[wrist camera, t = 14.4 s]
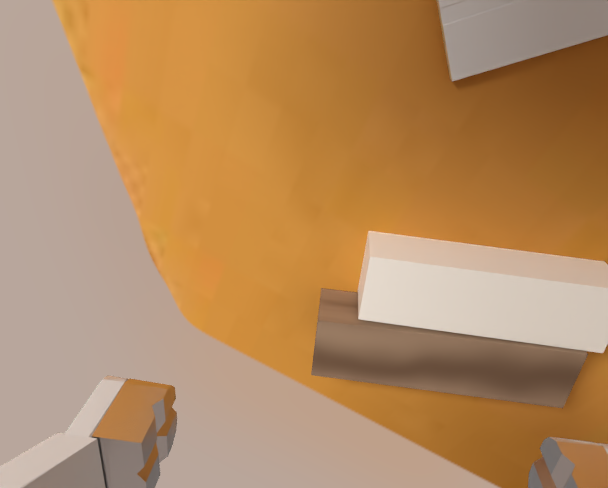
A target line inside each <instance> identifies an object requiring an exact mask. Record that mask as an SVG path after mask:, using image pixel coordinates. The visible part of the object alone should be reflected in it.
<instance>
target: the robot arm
mask: <svg viewBox="0 0 608 488" xmlns="http://www.w3.org/2000/svg"><path fill="white" fill-rule="evenodd" d="M175 399H176V396H175V387H173V386H171V385H165V384H159V383H153V382H147V381H141V380H135V379H126V378H120V377H114V376H106V377H105V378H104V379H102V380H101V381H100V383H99V384H98V386H97V387H96V389H95V390H94V392H93V393H92V394H91V396H90V397H89V399H88V400H87V402H86V403H85V405H84V406H83V407H82V409H81V410H80V412H79V413H78V415H77V416H76V418H75V419H74V421H73V422H72V423H71V425H70V426H69V428H68V429H67V431H66V432H65V433H56V434H55V435H53V436H51V437H50V438H48V439H46V440H44V441H43V442H41V443H40V444H38V445H36V446H35V447H33V448H31V449H29V450H27V451H26V452H24V453H22V454H21V455H19V456H17V457H16V458H14V459H12V460H10V461H9V462H7V463H5V464H4V465H2V466H0V488H155V486H156V483H157V481H158V479H159V476H160V467H159V466H160V465H159V463H160V462H161V461H162V460H163V459H165V458H166V457H168V455H169V452H170V450H171V447H172V445H173V441H174V437H175V433H176V426H177V413H176V411H175V410H174V409H173V408H172V405H173V403H174V401H175ZM540 450H541V452H542V455H543V457H542V458H540V459H539V460H537V461H535V462H534V463H533V465H532V467H531V470H530V472H529V483H528V488H608V444H602V443H594V442H587V441H579V440H571V439H563V438H555V437H548V438H546V439H545V440H544V441H543V443H542V445H541V447H540Z"/></svg>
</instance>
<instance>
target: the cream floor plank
mask: <svg viewBox="0 0 608 488" xmlns="http://www.w3.org/2000/svg"><path fill="white" fill-rule="evenodd" d="M358 319H360V320H367V321H374V322H381V323H389V324H396V325H403V326H410V327H417V328H425V329H432V330H439V331H446V332H453V333H461V334H468V335H475V336H482V337H489V338H497V339H504V340H511V341H518V342H525V343H533V344H540V345H547V346H554V347H561V348H569V349H576V350H583V351H590V352H597V353H603V352H604V350H605V348H606V346H607V344H608V265H607V264H606V262H605V261H597V260H589V259H582V258H574V257H566V256H559V255H551V254H543V253H535V252H528V251H520V250H512V249H505V248H497V247H489V246H482V245H474V244H466V243H459V242H451V241H443V240H436V239H428V238H420V237H413V236H405V235H397V234H390V233H382V232H374V231H368V236H367V242H366V248H365V253H364V259H363V264H362V270H361V275H360V281H359V286H358Z"/></svg>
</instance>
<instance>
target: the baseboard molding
mask: <svg viewBox="0 0 608 488" xmlns="http://www.w3.org/2000/svg"><path fill="white" fill-rule="evenodd" d="M436 1H437V7H438V12H439V18H440V24H441V30H442V36H443V42H444V47H445V53H446V59H447V65H448V71H449V77H450V80H451V81H456V80H459V79H462V78H466V77H469V76H472V75H476V74H479V73H482V72H486V71H489V70H493V69H496V68H499V67H503V66H506V65H509V64H513V63H516V62H519V61H523V60H526V59H529V58H533V57H536V56H540V55H543V54H546V53H550V52H553V51H556V50H560V49H563V48H566V47H570V46H573V45H577V44H580V43H583V42H587V41H590V40H593V39H597V38H600V37H603V36H607V35H608V0H436Z"/></svg>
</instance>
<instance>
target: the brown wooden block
mask: <svg viewBox="0 0 608 488" xmlns="http://www.w3.org/2000/svg"><path fill="white" fill-rule="evenodd" d="M587 355H588V354H587V353H586V351H583V350H576V349H569V348H561V347H554V346H547V345H540V344H533V343H525V342H518V341H511V340H504V339H497V338H489V337H482V336H475V335H468V334H461V333H453V332H446V331H439V330H432V329H425V328H417V327H410V326H403V325H396V324H389V323H381V322H374V321H367V320H360V319H358V293H356V292H348V291H339V290H331V289H323V288H322V289H321V297H320V306H319V314H318V323H317V331H316V339H315V348H314V356H313V365H312V373H311V375H315V376H323V377H330V378H338V379H345V380H353V381H361V382H368V383H376V384H383V385H391V386H399V387H406V388H414V389H421V390H429V391H436V392H444V393H452V394H459V395H467V396H474V397H482V398H490V399H497V400H505V401H512V402H520V403H527V404H535V405H543V406H550V407H558V408H563V407H564V405H565V402H566V400H567V398H568V396H569V394H570V392H571V390H572V387H573V385H574V383H575V381H576V379H577V377H578V375H579V373H580V370H581V368H582V366H583V364H584V362H585V360H586V358H587Z"/></svg>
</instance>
